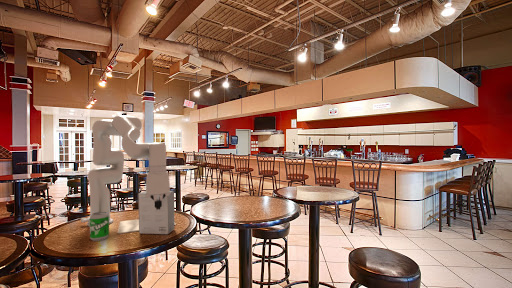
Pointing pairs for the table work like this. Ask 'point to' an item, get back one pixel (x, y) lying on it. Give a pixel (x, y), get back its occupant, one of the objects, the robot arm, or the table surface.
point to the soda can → (99, 226)
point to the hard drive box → (156, 214)
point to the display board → (129, 226)
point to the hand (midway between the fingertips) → (158, 208)
